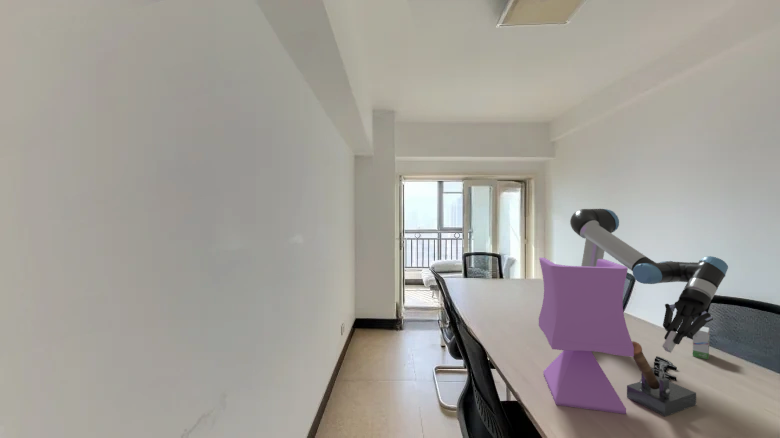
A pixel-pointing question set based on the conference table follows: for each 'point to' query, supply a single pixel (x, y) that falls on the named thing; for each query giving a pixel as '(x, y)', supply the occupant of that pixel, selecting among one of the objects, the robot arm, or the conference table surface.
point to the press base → (661, 396)
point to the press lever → (645, 366)
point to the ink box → (701, 343)
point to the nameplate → (663, 368)
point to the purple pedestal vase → (584, 331)
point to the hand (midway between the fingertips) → (666, 349)
